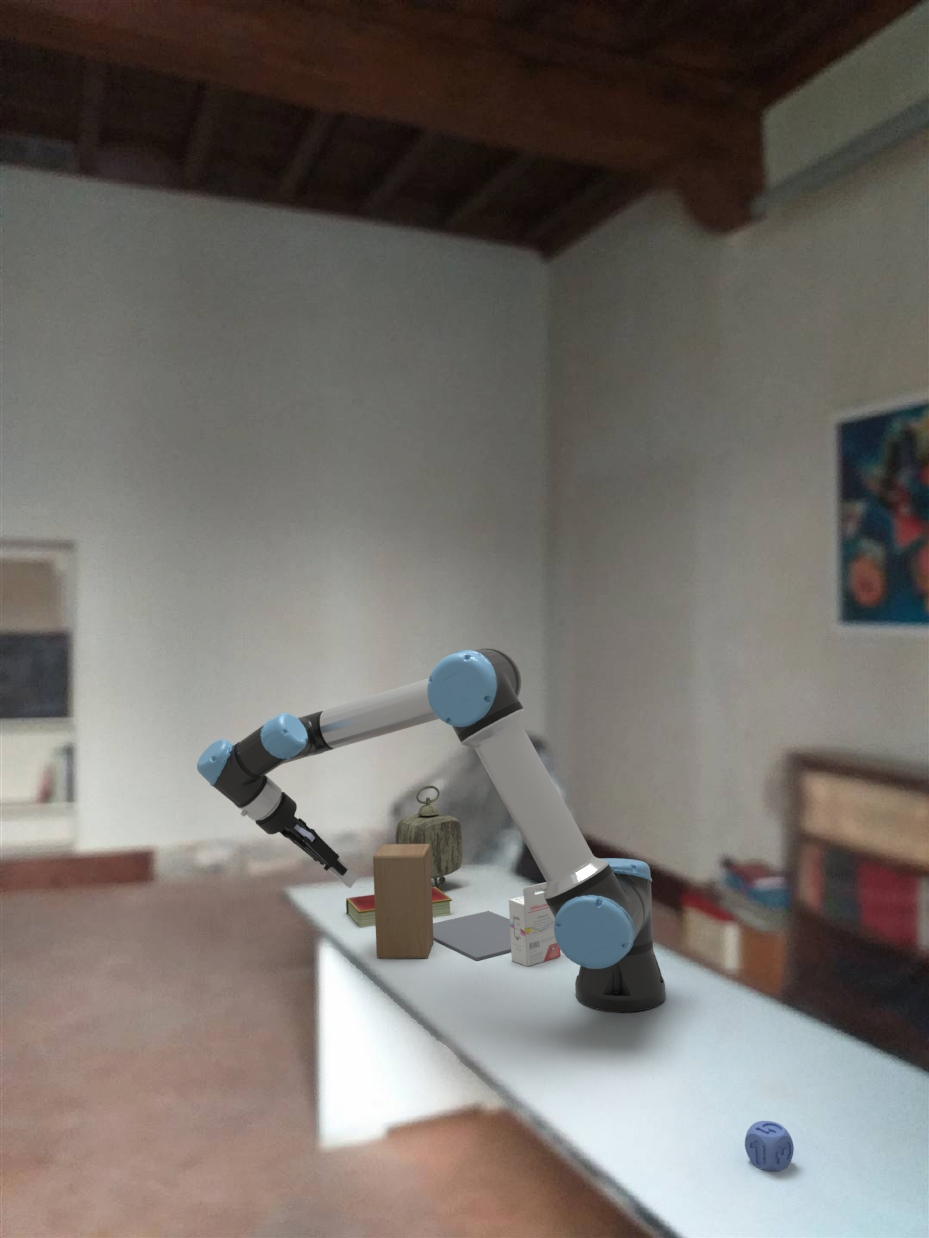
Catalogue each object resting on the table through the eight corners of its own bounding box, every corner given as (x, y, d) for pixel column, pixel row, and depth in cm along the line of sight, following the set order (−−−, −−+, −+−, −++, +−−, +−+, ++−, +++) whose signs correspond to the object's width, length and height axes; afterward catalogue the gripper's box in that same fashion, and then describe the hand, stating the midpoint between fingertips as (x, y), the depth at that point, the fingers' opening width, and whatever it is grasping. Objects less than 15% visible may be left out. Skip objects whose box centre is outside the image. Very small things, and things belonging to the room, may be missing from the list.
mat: (555, 940, 203) (555, 937, 203) (476, 960, 193) (476, 957, 193) (488, 913, 223) (488, 910, 223) (413, 930, 213) (413, 927, 213)
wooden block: (434, 942, 205) (430, 843, 205) (427, 958, 195) (423, 854, 195) (385, 942, 206) (381, 843, 206) (376, 959, 196) (372, 855, 196)
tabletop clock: (443, 880, 253) (440, 780, 253) (467, 887, 246) (463, 783, 246) (396, 892, 243) (393, 788, 243) (419, 899, 236) (416, 792, 236)
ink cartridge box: (544, 950, 197) (541, 874, 197) (561, 956, 193) (558, 879, 193) (509, 960, 192) (507, 882, 192) (526, 967, 188) (523, 888, 188)
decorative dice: (744, 1160, 120) (743, 1126, 120) (768, 1150, 122) (766, 1116, 122) (771, 1175, 117) (770, 1140, 117) (794, 1164, 119) (793, 1130, 119)
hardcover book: (346, 915, 228) (345, 896, 228) (435, 903, 235) (434, 884, 235) (359, 930, 216) (358, 910, 216) (452, 917, 223) (451, 897, 223)
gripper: (242, 817, 190) (326, 890, 200) (268, 828, 180) (356, 905, 189) (267, 785, 193) (349, 859, 202) (295, 794, 182) (380, 871, 192)
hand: (352, 881), depth 196 cm, fingers closed
